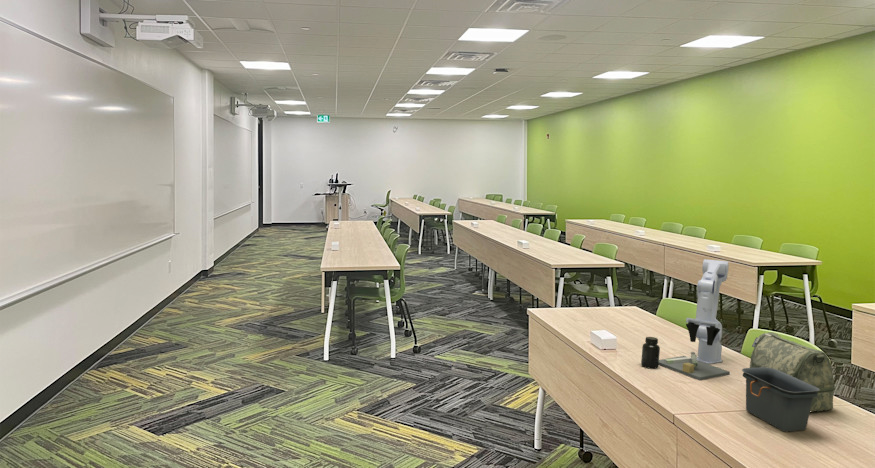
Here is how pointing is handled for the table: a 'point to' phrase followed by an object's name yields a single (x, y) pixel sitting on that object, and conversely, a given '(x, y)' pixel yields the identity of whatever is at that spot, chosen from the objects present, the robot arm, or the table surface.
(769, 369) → the storage bin
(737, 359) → the table surface
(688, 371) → the yellow wooden cube
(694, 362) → the bar
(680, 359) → the base
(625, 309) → the table surface
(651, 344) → the supplement bottle
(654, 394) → the table surface
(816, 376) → the lunch bag
